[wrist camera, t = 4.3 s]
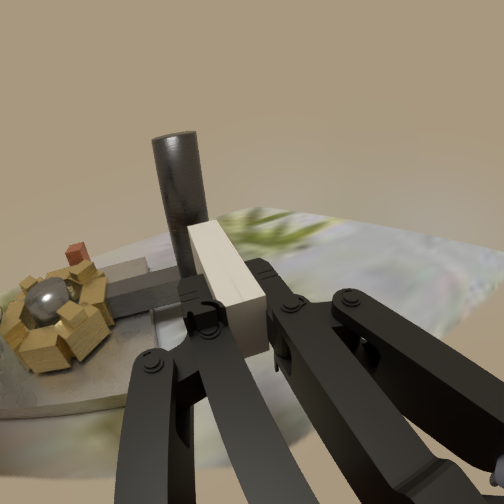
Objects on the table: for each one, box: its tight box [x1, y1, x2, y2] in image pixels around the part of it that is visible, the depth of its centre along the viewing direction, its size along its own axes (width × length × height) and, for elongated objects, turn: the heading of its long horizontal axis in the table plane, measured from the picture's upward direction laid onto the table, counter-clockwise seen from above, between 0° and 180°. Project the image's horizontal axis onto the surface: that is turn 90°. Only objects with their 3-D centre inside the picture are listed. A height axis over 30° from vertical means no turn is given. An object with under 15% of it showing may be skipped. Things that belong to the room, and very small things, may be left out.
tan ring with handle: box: [0, 131, 209, 373], centre depth 20 cm, size 21×12×13 cm, turn 110°
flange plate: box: [0, 242, 158, 419], centre depth 22 cm, size 18×20×6 cm
